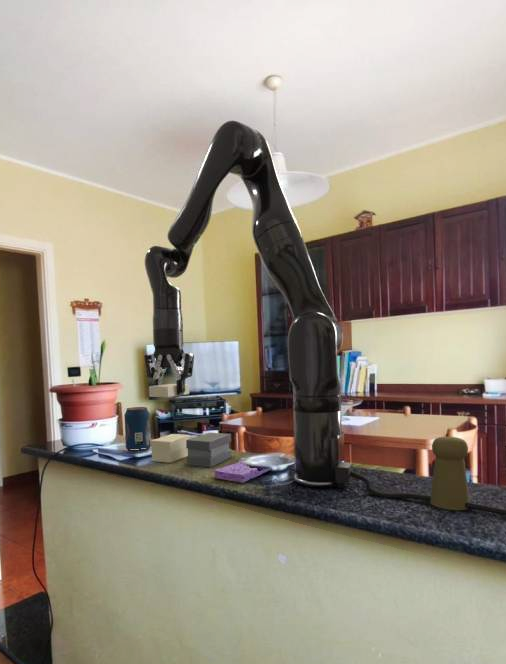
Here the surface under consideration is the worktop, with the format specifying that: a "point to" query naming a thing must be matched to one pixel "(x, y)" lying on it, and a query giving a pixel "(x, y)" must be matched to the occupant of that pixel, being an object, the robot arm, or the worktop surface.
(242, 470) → the sponge
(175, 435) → the cream books
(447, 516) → the worktop surface
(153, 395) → the pale yellow block
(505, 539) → the worktop surface
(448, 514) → the worktop surface
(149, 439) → the soda can
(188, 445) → the grey books
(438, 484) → the cork
